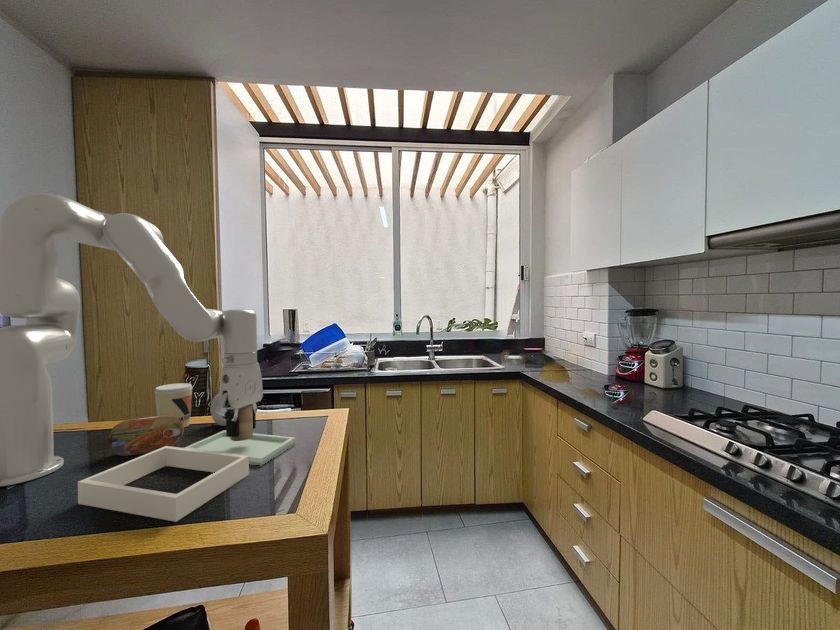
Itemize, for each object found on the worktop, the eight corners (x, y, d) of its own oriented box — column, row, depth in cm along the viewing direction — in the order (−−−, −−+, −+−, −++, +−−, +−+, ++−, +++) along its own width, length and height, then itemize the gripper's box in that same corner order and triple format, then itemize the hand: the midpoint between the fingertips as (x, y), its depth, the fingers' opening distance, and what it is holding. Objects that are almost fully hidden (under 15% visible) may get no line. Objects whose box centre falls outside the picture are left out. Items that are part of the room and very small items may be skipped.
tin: (106, 458, 83) (105, 423, 83) (111, 453, 86) (111, 419, 85) (182, 448, 89) (182, 415, 89) (185, 444, 92) (184, 412, 91)
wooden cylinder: (225, 440, 86) (225, 407, 86) (240, 432, 91) (240, 402, 91) (243, 441, 85) (242, 408, 85) (257, 434, 90) (256, 403, 89)
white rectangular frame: (78, 503, 64) (77, 481, 64) (166, 463, 80) (166, 445, 80) (176, 521, 58) (175, 498, 58) (248, 474, 75) (248, 455, 75)
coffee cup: (178, 431, 100) (178, 390, 100) (146, 431, 101) (145, 389, 100) (200, 421, 110) (199, 382, 109) (170, 421, 110) (169, 382, 110)
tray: (182, 456, 84) (181, 448, 84) (224, 436, 97) (224, 430, 97) (261, 466, 79) (261, 458, 79) (295, 444, 91) (295, 437, 91)
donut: (240, 426, 105) (240, 393, 105) (230, 430, 102) (230, 395, 102) (218, 421, 109) (218, 389, 109) (207, 425, 106) (207, 392, 106)
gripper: (226, 365, 78) (227, 446, 79) (275, 355, 95) (276, 422, 95) (198, 364, 80) (200, 443, 80) (251, 354, 96) (252, 420, 97)
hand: (241, 431), depth 88 cm, fingers closed on wooden cylinder, 5 cm apart
